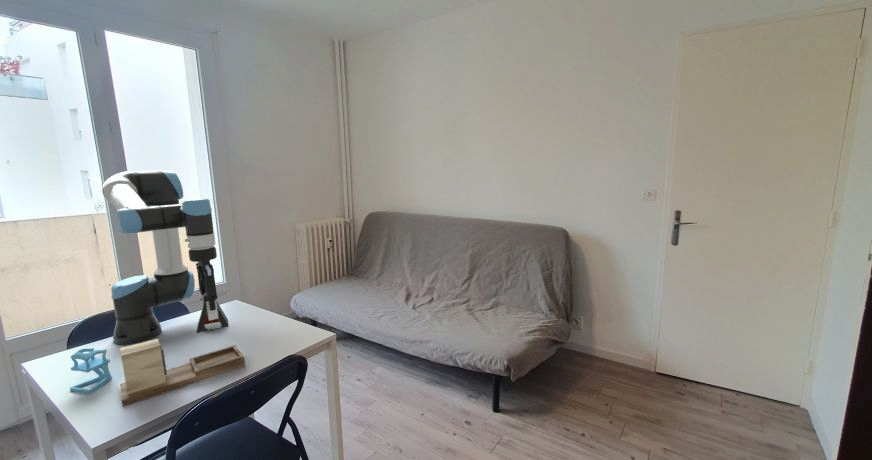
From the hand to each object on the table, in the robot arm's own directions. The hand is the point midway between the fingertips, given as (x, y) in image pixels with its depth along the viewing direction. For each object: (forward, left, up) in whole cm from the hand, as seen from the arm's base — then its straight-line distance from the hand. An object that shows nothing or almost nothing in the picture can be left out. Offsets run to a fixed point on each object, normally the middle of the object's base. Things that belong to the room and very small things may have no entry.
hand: (211, 315), depth 125 cm
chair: (-14, -31, -18) cm, 38 cm away
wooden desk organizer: (+1, -9, -18) cm, 20 cm away
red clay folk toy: (-36, +6, -18) cm, 40 cm away
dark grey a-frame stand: (0, 0, -4) cm, 4 cm away
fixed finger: (+1, -19, -16) cm, 24 cm away
